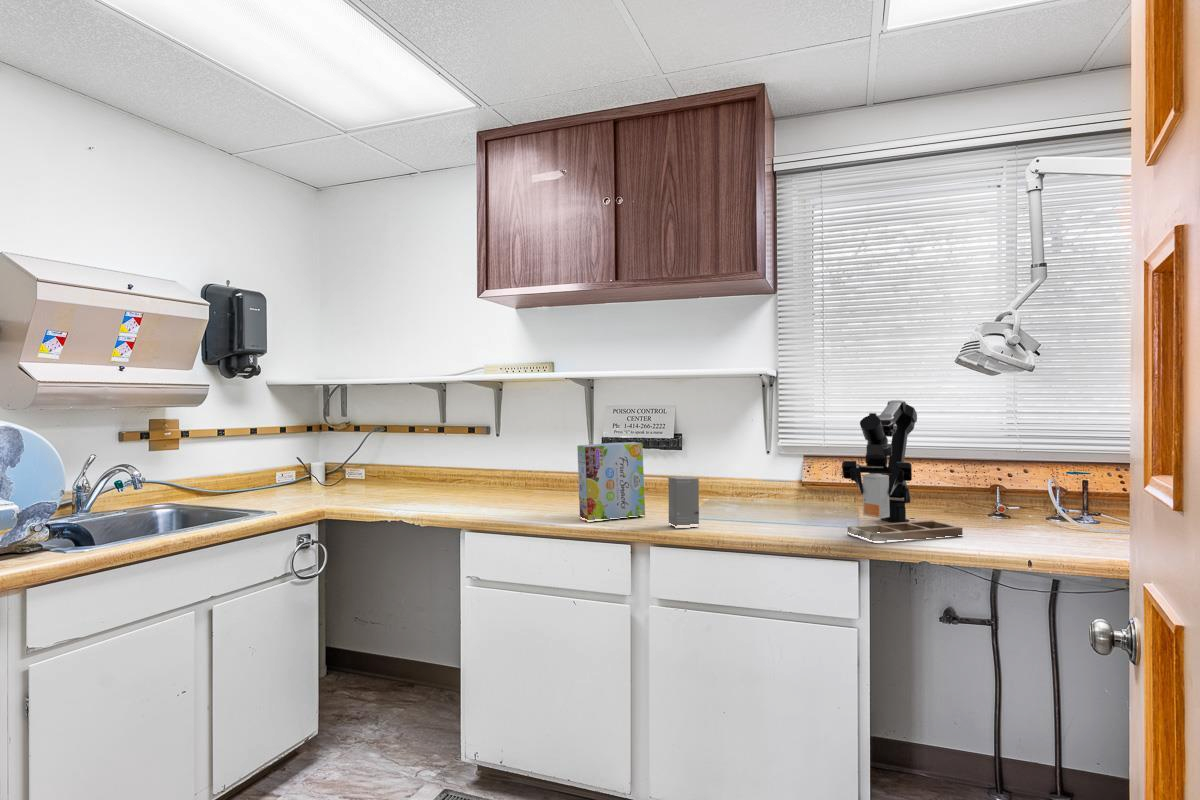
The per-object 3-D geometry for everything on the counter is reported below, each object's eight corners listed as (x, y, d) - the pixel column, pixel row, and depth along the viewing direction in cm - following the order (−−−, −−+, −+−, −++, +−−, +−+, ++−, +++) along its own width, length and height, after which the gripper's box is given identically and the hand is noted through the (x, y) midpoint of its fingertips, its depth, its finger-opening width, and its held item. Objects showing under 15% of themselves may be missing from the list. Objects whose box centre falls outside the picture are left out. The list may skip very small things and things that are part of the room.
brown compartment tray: (847, 535, 196) (847, 526, 195) (931, 528, 203) (931, 520, 203) (874, 543, 184) (873, 534, 184) (962, 536, 191) (962, 527, 191)
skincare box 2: (862, 515, 192) (861, 474, 192) (872, 513, 194) (871, 473, 194) (880, 518, 187) (879, 476, 187) (890, 517, 189) (889, 475, 189)
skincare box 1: (675, 529, 207) (675, 479, 207) (667, 525, 214) (666, 476, 214) (700, 527, 209) (700, 477, 209) (691, 523, 216) (691, 475, 216)
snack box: (635, 513, 236) (633, 441, 235) (646, 517, 228) (644, 442, 227) (577, 519, 227) (576, 444, 227) (587, 523, 219) (585, 445, 219)
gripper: (842, 433, 198) (838, 475, 188) (911, 434, 190) (911, 478, 180) (845, 457, 205) (842, 498, 196) (911, 458, 197) (911, 502, 188)
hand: (875, 493), depth 190 cm, fingers closed on skincare box 2, 7 cm apart
